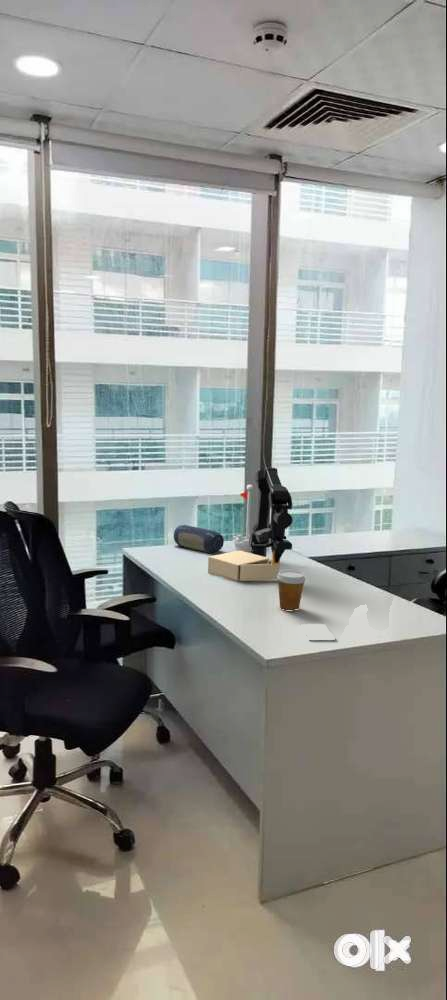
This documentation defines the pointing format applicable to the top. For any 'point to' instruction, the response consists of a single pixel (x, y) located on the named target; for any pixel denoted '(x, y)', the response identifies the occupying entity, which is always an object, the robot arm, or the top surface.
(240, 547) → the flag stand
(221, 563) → the carton
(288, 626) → the top surface
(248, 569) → the carton flap
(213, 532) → the portable speaker
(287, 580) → the disposable coffee cup
